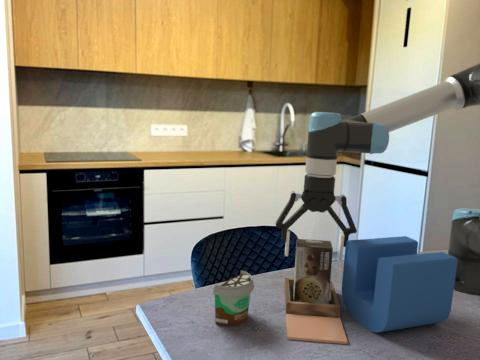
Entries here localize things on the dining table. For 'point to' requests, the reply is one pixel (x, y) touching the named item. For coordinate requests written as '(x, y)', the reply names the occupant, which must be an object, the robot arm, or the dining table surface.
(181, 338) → the dining table surface
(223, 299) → the food container
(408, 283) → the block
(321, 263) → the coffee box
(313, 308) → the walnut frame
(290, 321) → the terracotta tile
